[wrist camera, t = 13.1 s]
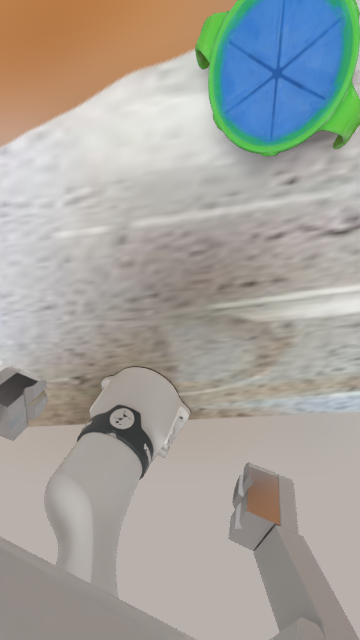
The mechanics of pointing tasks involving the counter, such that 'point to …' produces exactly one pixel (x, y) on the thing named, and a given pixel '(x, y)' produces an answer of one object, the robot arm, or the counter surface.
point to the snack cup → (282, 71)
